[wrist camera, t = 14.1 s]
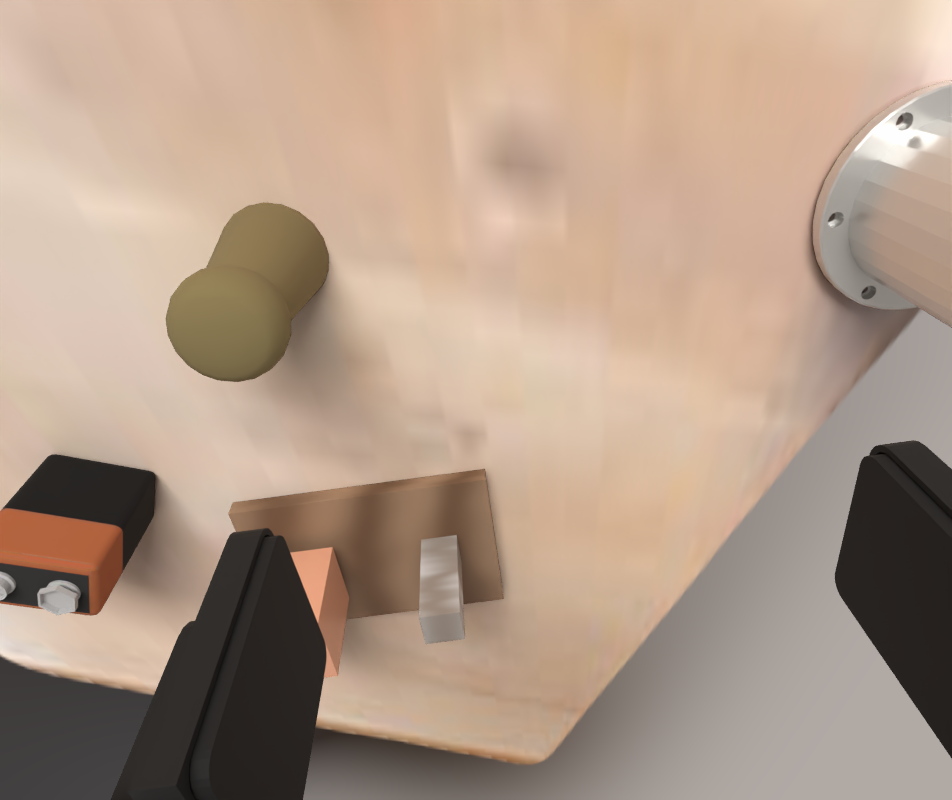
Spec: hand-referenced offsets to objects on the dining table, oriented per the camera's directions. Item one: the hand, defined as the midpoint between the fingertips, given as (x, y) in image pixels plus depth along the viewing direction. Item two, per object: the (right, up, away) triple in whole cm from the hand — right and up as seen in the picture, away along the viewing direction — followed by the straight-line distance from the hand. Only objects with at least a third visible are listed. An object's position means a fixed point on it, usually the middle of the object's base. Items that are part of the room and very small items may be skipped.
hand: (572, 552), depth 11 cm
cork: (-13, +11, +26) cm, 31 cm away
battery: (-27, -3, +34) cm, 43 cm away
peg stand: (-9, -9, +38) cm, 40 cm away
